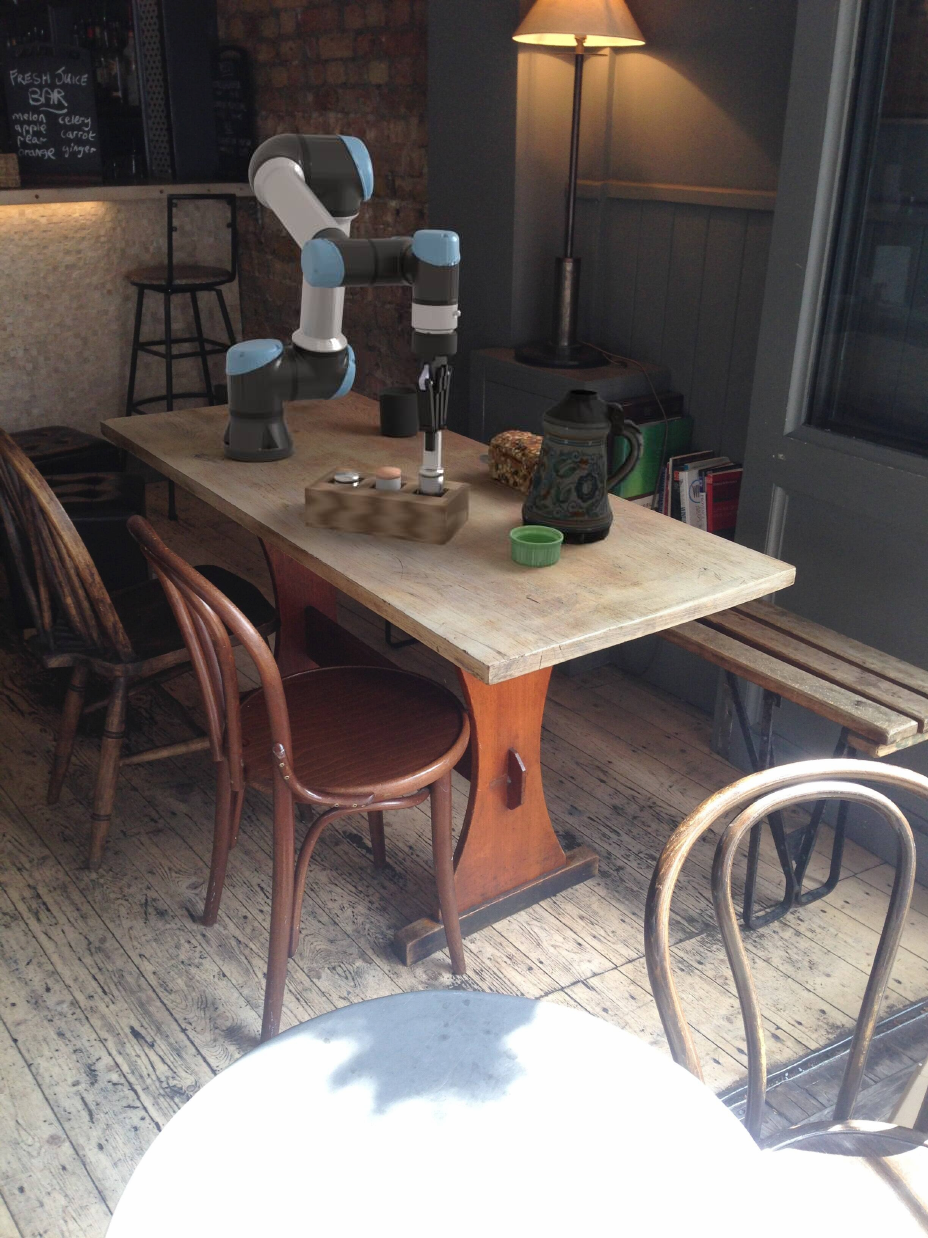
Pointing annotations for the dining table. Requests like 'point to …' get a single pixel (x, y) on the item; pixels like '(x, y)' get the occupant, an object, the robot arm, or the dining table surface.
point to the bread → (514, 458)
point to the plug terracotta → (388, 479)
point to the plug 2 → (431, 482)
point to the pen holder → (398, 411)
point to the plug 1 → (346, 478)
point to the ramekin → (535, 545)
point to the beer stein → (579, 467)
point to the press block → (387, 508)
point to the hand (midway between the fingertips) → (431, 467)
